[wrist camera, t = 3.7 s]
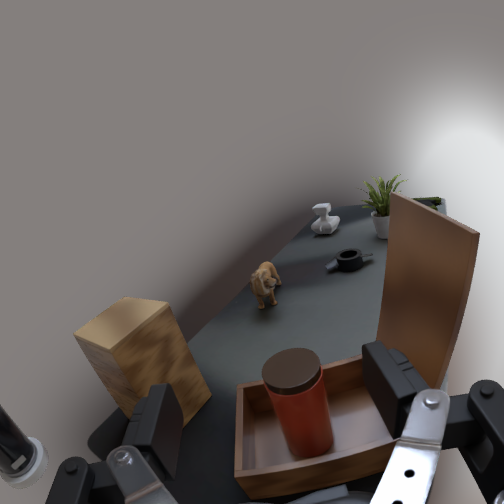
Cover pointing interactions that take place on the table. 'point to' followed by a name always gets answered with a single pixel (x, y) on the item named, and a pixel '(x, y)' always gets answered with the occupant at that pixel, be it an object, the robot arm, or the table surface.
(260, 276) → the lion figurine
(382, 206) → the house plant
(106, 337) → the cork trivet
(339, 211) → the table surface
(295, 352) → the spice jar
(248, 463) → the wooden box
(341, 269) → the duct tape
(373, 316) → the table surface
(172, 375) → the oak stand
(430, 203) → the gun
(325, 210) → the stamp
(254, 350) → the table surface
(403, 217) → the box lid
